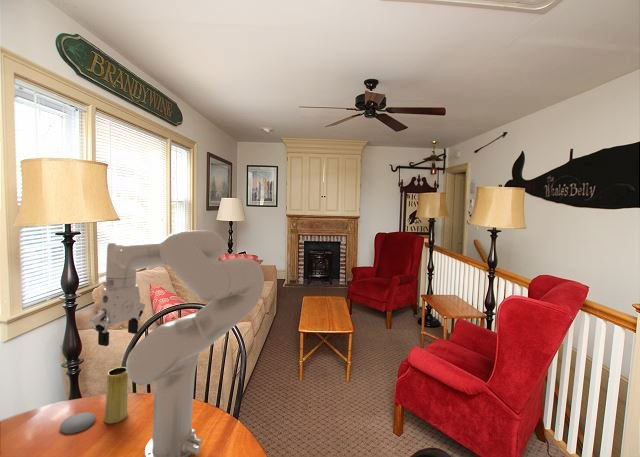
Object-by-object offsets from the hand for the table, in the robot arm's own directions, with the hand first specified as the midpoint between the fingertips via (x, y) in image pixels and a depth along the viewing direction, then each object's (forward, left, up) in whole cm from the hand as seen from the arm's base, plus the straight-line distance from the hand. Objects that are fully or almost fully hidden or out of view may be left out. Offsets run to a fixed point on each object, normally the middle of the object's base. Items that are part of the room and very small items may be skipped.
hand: (118, 338), depth 92 cm
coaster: (+7, +6, -24) cm, 26 cm away
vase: (0, 0, -24) cm, 24 cm away
